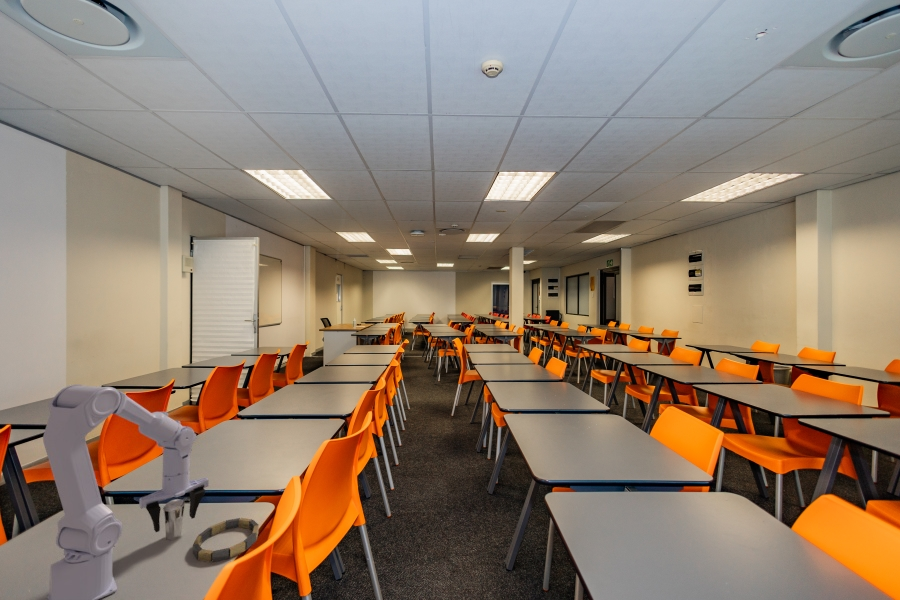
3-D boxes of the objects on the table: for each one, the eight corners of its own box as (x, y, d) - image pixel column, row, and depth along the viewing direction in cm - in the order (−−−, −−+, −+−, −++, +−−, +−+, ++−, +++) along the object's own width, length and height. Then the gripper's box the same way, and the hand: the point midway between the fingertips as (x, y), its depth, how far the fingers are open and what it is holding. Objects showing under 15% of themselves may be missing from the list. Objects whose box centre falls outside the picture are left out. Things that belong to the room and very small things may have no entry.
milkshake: (174, 543, 92) (175, 504, 92) (157, 540, 93) (158, 501, 93) (191, 532, 97) (191, 495, 97) (174, 529, 98) (175, 492, 98)
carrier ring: (204, 570, 83) (205, 561, 83) (186, 544, 92) (186, 536, 92) (267, 540, 94) (267, 532, 94) (245, 519, 103) (245, 512, 103)
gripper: (144, 487, 87) (143, 543, 87) (212, 466, 98) (211, 516, 98) (138, 478, 91) (136, 531, 91) (204, 459, 103) (203, 507, 102)
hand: (175, 523), depth 95 cm, fingers open, 7 cm apart
